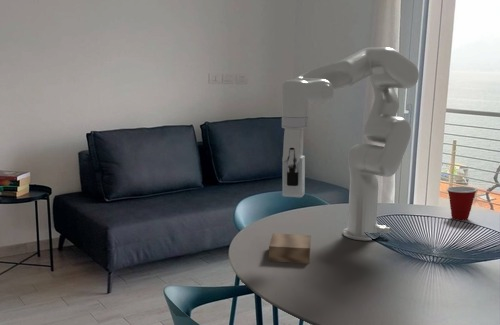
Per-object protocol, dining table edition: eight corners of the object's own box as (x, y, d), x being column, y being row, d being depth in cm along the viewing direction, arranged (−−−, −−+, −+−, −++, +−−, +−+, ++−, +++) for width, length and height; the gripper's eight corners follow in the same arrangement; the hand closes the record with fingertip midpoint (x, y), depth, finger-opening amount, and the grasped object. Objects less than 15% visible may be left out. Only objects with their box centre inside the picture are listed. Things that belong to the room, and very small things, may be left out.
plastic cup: (452, 212, 215) (455, 183, 212) (479, 218, 207) (482, 188, 205) (438, 217, 207) (441, 187, 205) (466, 224, 200) (468, 192, 197)
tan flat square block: (310, 250, 172) (310, 235, 171) (309, 264, 160) (309, 248, 159) (272, 248, 173) (272, 233, 172) (268, 262, 162) (269, 246, 161)
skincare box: (304, 194, 163) (305, 155, 161) (301, 198, 159) (302, 158, 157) (285, 193, 165) (285, 154, 163) (281, 196, 161) (282, 156, 159)
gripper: (285, 118, 167) (285, 176, 170) (277, 126, 150) (276, 189, 154) (310, 119, 165) (309, 177, 169) (304, 126, 149) (303, 191, 152)
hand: (293, 182), depth 161 cm, fingers closed on skincare box, 4 cm apart
